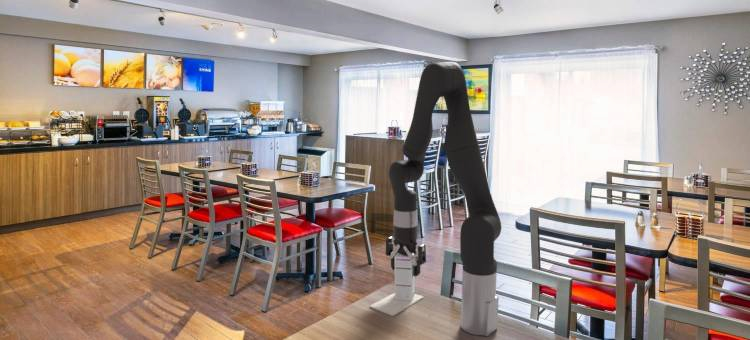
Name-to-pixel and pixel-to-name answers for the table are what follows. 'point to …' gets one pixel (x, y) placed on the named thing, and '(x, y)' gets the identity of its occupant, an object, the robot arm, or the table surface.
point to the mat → (394, 304)
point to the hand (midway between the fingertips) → (405, 272)
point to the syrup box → (404, 278)
